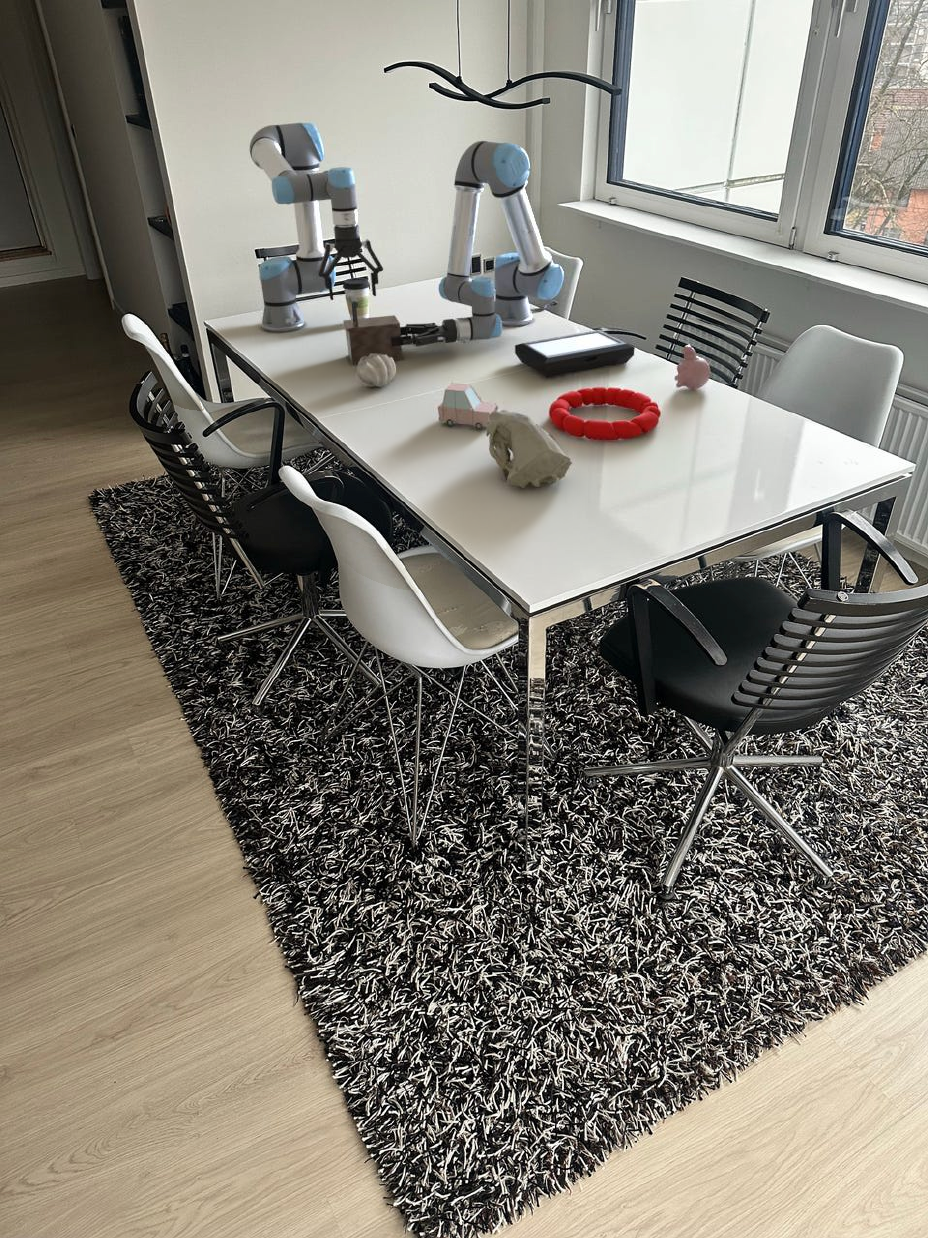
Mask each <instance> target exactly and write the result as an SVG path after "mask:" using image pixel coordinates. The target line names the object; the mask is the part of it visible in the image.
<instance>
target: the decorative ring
mask: <svg viewBox="0 0 928 1238" xmlns="http://www.w3.org/2000/svg"><path fill="white" fill-rule="evenodd" d="M583 405H584V406H586V407H587V406H591V405H593V406H604V405H608V406H614V407H619V408H624V409H628V410H632V411H635V412H636V413H638V414H639V415H637V416H635V417H632V418H631V419H630V420H625V419H624V420H623V419H622V420H614V421H611V422H609V421H607V420H606V421H605V420H593V419H587V420H586V421H585V419H584V418H582V417H579V416H577V415H573V414H571V413H570V410H571V409H579V408H581V407H582V406H583ZM548 416H549V419H550V422H551V423H552V425H553V426H554V427H555V428H556V429H558V430H559V431H561V432H563V433H567V434H568V435H569V436H573V437H576V438H580V439H582V438H583V437H585V438H586V439H587V440H591V441H601V442H602V441H603V442H608V441H609V442H610V441H611V442H612V441H615V442H616V441H618V440H630V439H634V438H638V437H641V436H642V434H647V433H650V432H651V431H653V430H654V429H655V428H656V427H657V426H658V424H659V422H660V421H659V420H660V417H661V410H660V408H659V405H658V403H657V402H656V401H652V399H651V397H649V396H648V395H646V394H644V393H642V392H635V391H634V390H632V389H628V388H624V389H622V388H620V387H613V386H612V387H611V386H610V387H608V388H606V387H604V386H594V387H585V388H584V387H583V388H580V389H578V390H571V391H568V392H565V393H563V394H561V395H560V396H558V397H557V398H556V400H554V401H552V403H551V404H550V407H549V409H548Z"/></svg>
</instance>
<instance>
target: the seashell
mask: <svg viewBox="0 0 928 1238" xmlns="http://www.w3.org/2000/svg"><path fill="white" fill-rule="evenodd" d="M396 367H397V365H396V363H395V361H394V360H393V358H392V357H390V358H389V357H388V356H387V355H386V354H385V355H383V354H376V353H375V354H372V353H371V354H370V355H369V356H363V357H361V359H360V361H359V363H358V365H357V368H356V373H357V376H358V379H359V381H360V382H361V383H362V384H363V385H365V386H367V387H370V388H372V387H375V386H376V387H381V388H382V387H385V386H388V384H389V383H391V381H392V380H393V378H394V377H395V375H396V372H397V368H396Z"/></svg>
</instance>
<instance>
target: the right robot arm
mask: <svg viewBox="0 0 928 1238" xmlns="http://www.w3.org/2000/svg"><path fill="white" fill-rule="evenodd" d="M530 163H531V162H530V159H529V156H528V154H527V152H526V151H525V149H524V148H523V147H521V146H520V145H518V144H515V143H512V142H496V141H495V142H494V141H487V140H479V141H476V142H473V143H472V144H471V145H469V146H468V147H467V148H466V149H465V150H464V152H463V153H462V155H461V157H460V159H459V162H458V165H457V168H456V171H455V176H454V182H453V183H454V184H453V187H454V188H455V190H456V195H455V202H454V211H453V220H452V228H451V235H450V237H451V238H450V245H449V246H450V247H449V255H448V264H447V274H446V276H444V277H442V278H441V280H440V282H439V284H438V294H439V296H440V297H441V298H442V299H444V300H446V301H448V302H451V303H457V304H461V305H465V306H468V307H471V316H466V317H457V318H456V317H455V319H454V318H446V319H442V322H441V325H437V324H436V322H430V323H406V324H405V325H404V326H400V331H401V336H400V337H391V340H392V346H401V345H402V346H409V345H410V346H411V345H413V346H415V347H421V346H426V345H431V344H436V343H445V344H450V343H451V344H453V343H456V342H457V343H459V342H462V344H465V343H466V342H471V341H480V340H492V339H497V338H500V337H501V335H502V333H503V327H520V326H525V325H528V324H530V323H531V322H532V321H533V313H532V312H540V311H545V310H546V308H547V307H548V306H550V305H552V304H555V305H558V304H559V303H558V301H556V300H552V299H553V298H555V297H557V295H558V294H559V293H560V291H561V289H562V285H563V283H564V271H563V267H561V265H559V264H557V263H554V262H553V258H552V255H551V254H550V252H549V251H548V250H545V249H544V245H543V242H542V238H541V235H540V232H539V229H538V226H537V223H536V221H535V217H534V213H533V211H532V208H531V205H530V201H529V198H528V195H527V192H526V189H525V187H526V186H527V184H528V178H529V175H530V171H529V170H530V169H531V167H530V166H531V165H530ZM485 184H488V186H489V189H490V192H491V195H492V196H493V197H494V198H495V199H498V200H499V204H500V205H501V209H502V213H503V214H504V217H505V221H506V223H507V226H508V229H509V232H510V235H511V238H512V240H513V243H514V246H515V249H516V252H508V253H504V254H503V253H502V254H501V255H498V256H497V257H495V260H494V280H493V278H491V277H487V276H477V277H473V278H472V279H471V281H470V274H471V264H472V258H473V251H474V241H475V234H476V229H477V228H476V227H477V219H478V212H479V204H480V198H481V197H480V196H481V193H482V192H484V190H485ZM528 297H531V298H536V299H539V300H547V301H548V302H547V303H545V304H544V305H543V307H538V308H531V306H530V303H529V299H528ZM549 300H550V301H549Z"/></svg>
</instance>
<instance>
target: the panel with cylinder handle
mask: <svg viewBox="0 0 928 1238" xmlns="http://www.w3.org/2000/svg"><path fill="white" fill-rule="evenodd" d="M348 299H349V302H350V304H351V306H352V316H353V320H351V319H346V320H345V319H344V320H343V325H344V327H345V330H346V329H347V332H351V331H360V330H370V329H380V328H389V327H399V326H400V327H401V323H400V321H399V320H398V318H397V317H396V315H394V314H393V315H384V316H374V317H368V318H363V319H357V309H356V308H357V307H358V302H357V300H356V299H355V297H354V296H349V298H348Z"/></svg>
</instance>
